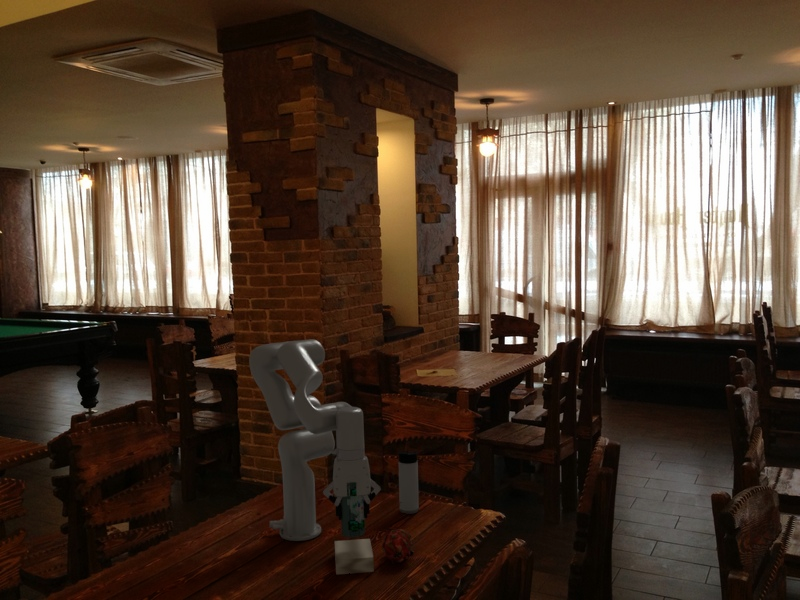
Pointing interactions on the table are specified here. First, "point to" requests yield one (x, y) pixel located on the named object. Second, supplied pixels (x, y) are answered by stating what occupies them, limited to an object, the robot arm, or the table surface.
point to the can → (352, 513)
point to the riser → (353, 556)
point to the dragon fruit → (397, 545)
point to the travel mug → (408, 482)
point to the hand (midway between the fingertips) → (352, 516)
